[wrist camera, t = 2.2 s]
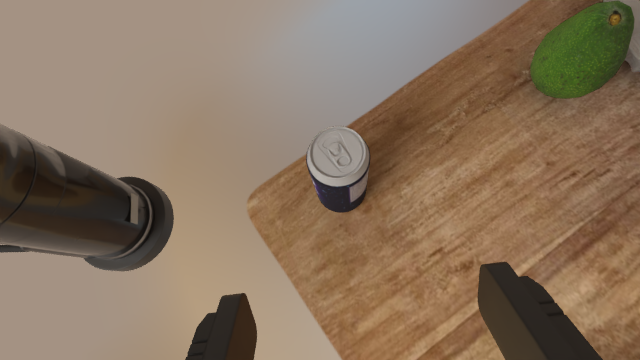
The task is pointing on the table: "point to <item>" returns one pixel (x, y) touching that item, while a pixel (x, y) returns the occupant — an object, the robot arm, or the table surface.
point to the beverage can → (339, 167)
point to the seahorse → (633, 35)
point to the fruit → (583, 51)
